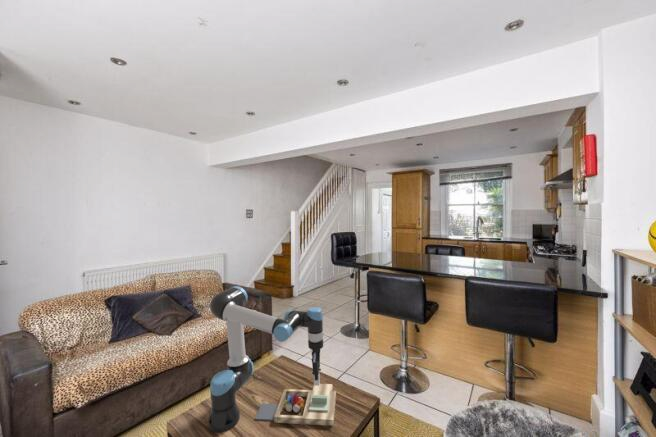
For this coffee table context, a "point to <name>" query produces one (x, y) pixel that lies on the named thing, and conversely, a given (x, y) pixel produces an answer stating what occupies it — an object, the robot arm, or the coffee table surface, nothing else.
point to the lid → (319, 403)
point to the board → (308, 416)
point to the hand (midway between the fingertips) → (317, 384)
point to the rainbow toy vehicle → (294, 403)
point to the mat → (266, 412)
